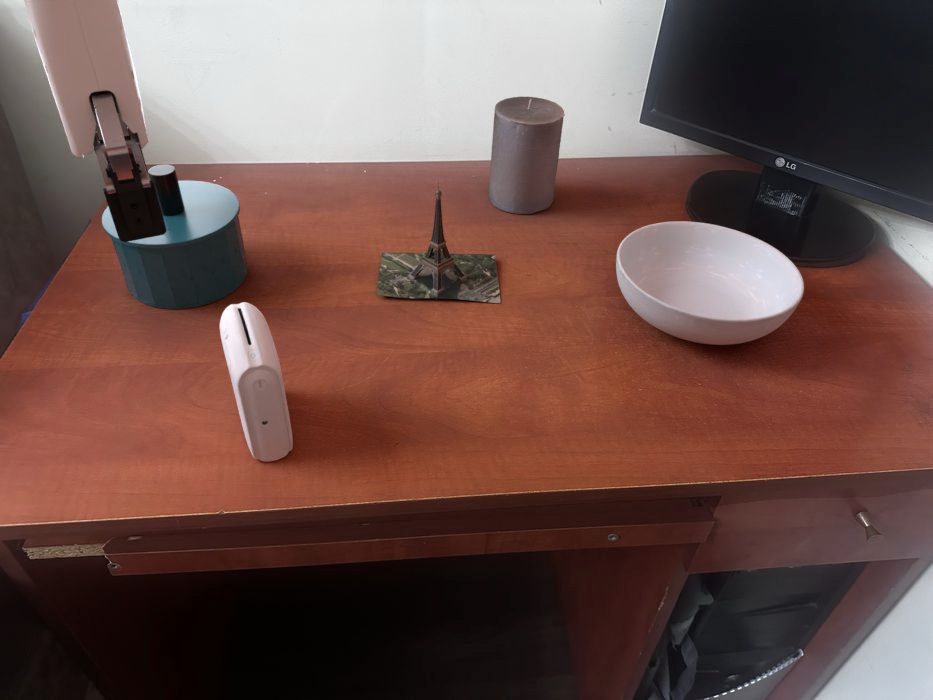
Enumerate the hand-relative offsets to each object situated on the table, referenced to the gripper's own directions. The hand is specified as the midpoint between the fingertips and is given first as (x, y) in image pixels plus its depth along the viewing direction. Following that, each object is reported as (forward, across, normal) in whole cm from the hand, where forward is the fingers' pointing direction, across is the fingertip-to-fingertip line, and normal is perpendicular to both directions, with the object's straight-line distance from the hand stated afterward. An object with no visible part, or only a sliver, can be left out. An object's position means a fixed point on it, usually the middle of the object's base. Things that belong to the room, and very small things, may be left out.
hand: (135, 205), depth 54 cm
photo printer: (+23, +4, +6) cm, 24 cm away
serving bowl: (+23, +6, +57) cm, 62 cm away
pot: (+23, -25, +3) cm, 34 cm away
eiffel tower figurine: (+23, -12, +32) cm, 41 cm away
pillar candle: (+23, -27, +51) cm, 62 cm away
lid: (+14, -25, +3) cm, 29 cm away
